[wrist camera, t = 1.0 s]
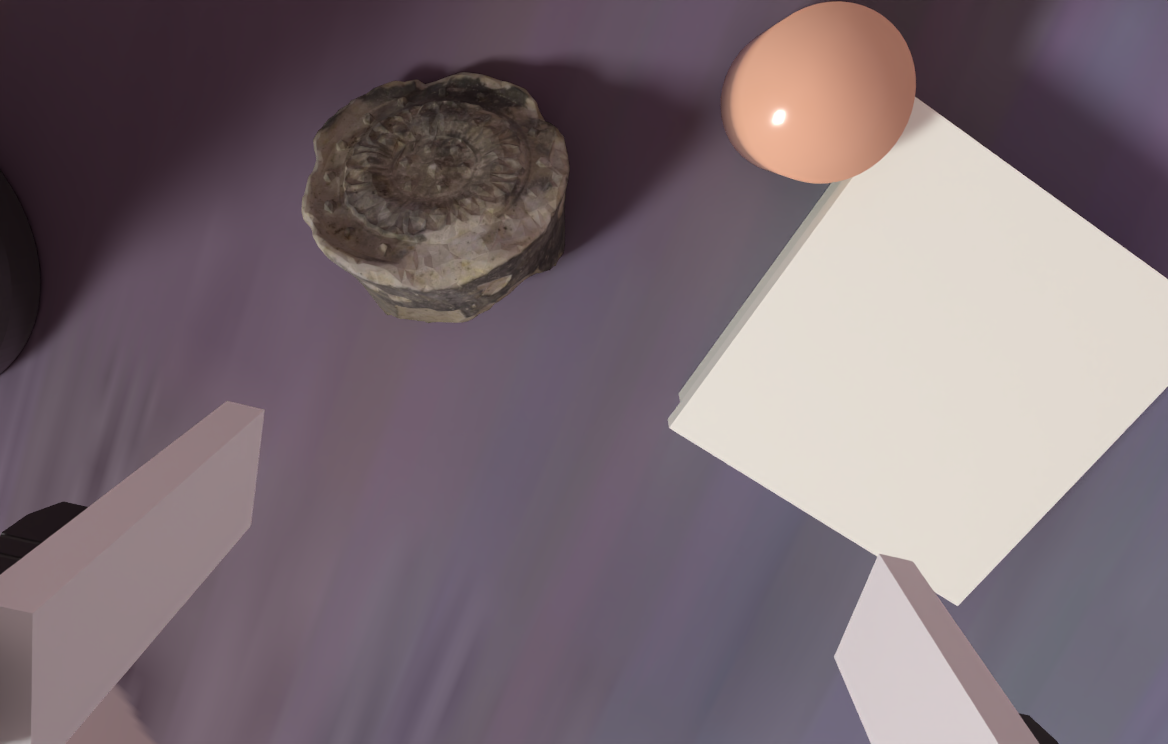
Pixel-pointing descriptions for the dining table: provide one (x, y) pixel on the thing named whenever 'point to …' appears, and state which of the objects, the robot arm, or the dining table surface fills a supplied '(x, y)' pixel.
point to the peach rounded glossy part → (820, 93)
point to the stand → (933, 357)
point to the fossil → (439, 194)
